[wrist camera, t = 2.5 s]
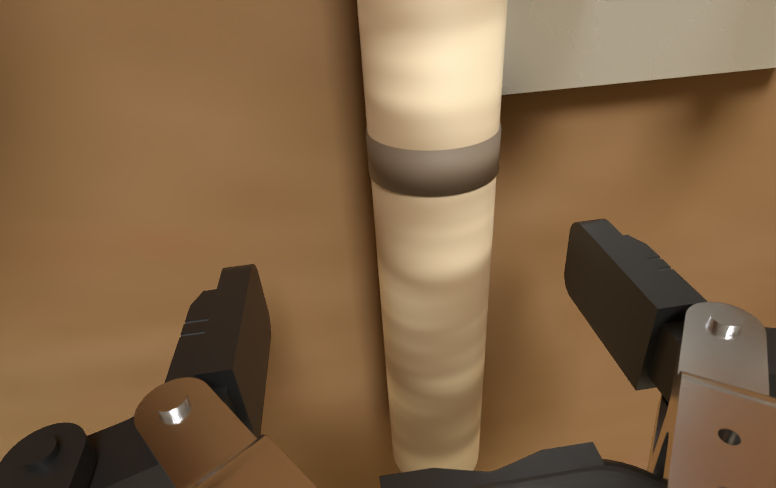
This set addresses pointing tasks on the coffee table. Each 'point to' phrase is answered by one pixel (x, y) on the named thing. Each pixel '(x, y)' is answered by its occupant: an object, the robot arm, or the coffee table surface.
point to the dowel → (433, 211)
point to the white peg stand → (632, 41)
